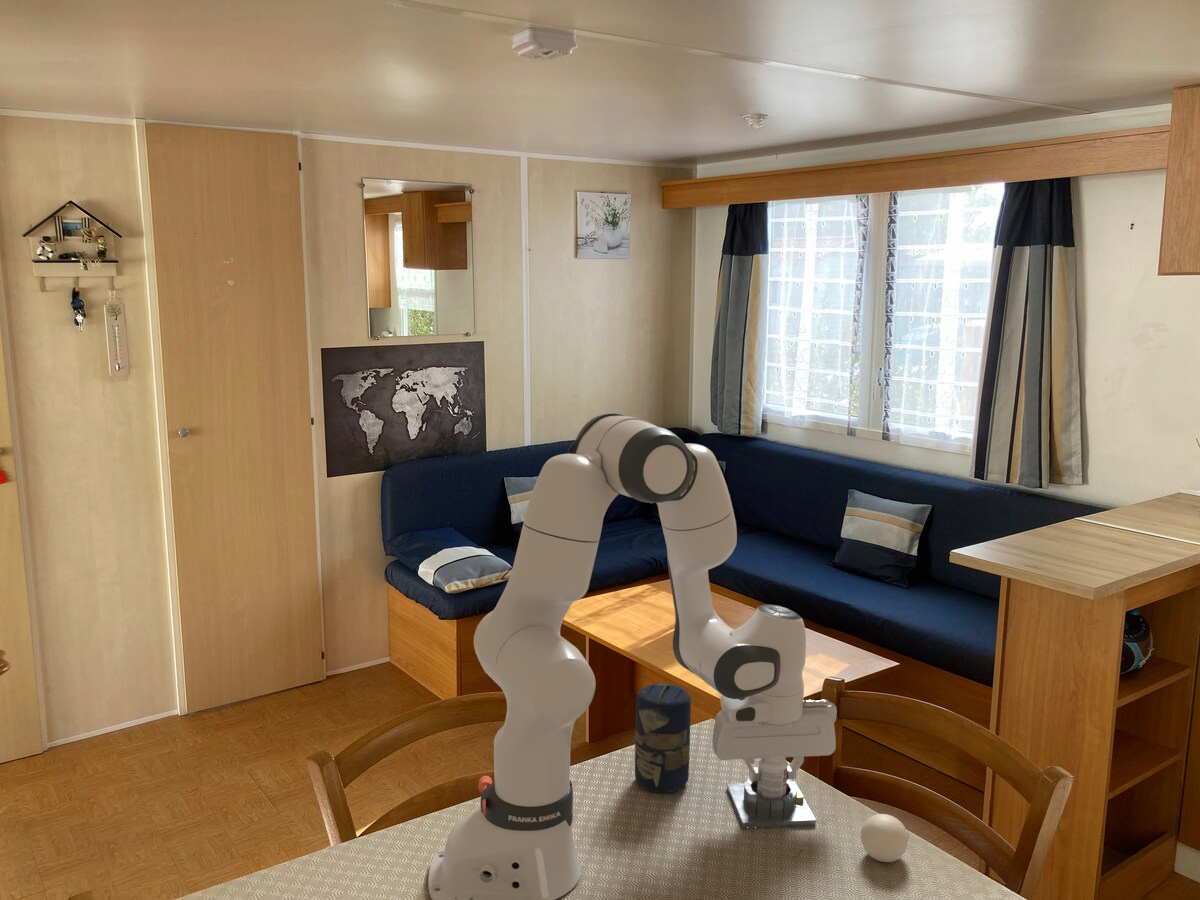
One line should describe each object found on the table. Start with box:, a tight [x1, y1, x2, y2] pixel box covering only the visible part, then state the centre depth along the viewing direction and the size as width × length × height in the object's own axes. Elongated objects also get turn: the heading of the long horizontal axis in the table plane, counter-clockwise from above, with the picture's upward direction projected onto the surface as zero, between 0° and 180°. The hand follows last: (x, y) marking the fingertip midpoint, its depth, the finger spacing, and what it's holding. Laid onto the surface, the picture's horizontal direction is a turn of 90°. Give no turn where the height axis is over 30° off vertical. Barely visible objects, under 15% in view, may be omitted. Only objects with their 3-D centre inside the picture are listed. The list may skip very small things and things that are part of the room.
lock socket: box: [726, 777, 817, 829], centre depth 162 cm, size 12×12×4 cm
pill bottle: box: [757, 755, 789, 798], centre depth 160 cm, size 5×5×8 cm
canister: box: [634, 682, 692, 793], centre depth 168 cm, size 10×10×18 cm
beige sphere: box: [860, 813, 910, 863], centre depth 148 cm, size 7×7×7 cm
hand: (772, 779), depth 161 cm, fingers closed on pill bottle, 5 cm apart
